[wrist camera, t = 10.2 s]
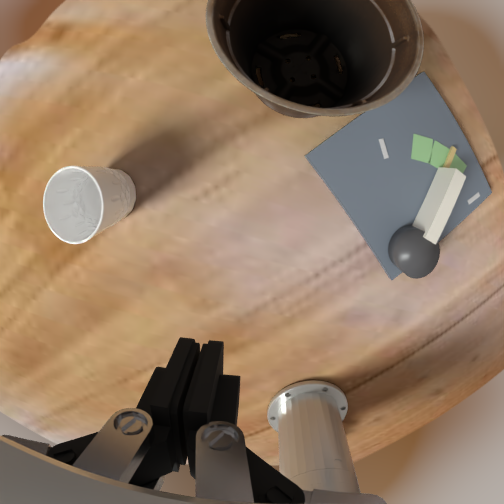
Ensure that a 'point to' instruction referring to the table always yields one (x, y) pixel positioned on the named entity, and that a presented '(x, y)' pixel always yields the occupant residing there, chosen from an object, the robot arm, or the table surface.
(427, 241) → the peg dial
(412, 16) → the plant pot
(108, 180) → the white cup
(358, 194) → the board
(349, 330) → the table surface
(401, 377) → the table surface
